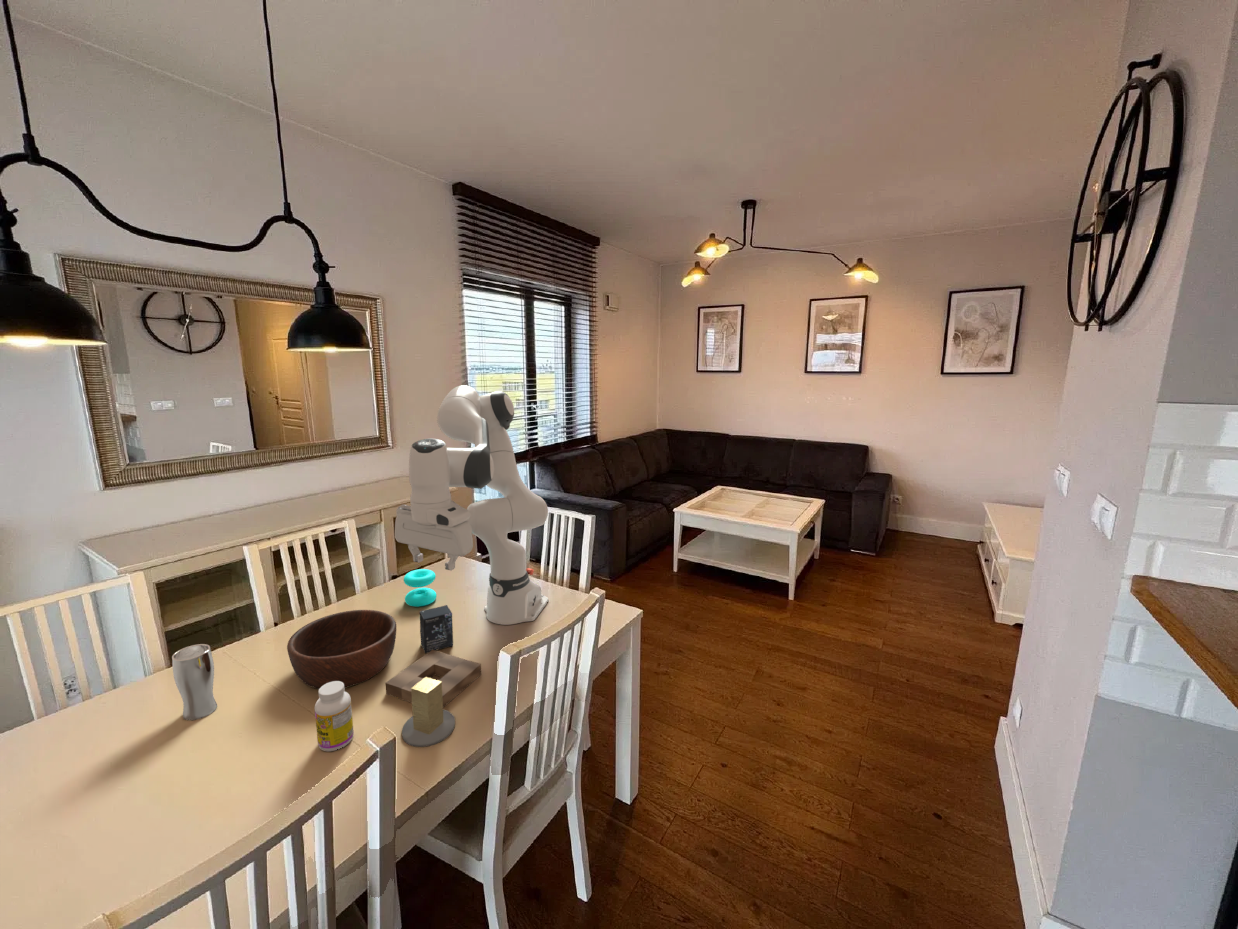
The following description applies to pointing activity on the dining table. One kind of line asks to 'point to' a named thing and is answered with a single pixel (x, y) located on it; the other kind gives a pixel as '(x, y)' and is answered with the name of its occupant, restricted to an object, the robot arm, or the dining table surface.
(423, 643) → the box
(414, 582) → the donuts
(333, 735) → the supplement bottle
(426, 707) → the part
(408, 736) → the coaster
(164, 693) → the dining table surface
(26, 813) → the dining table surface
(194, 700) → the beer glass
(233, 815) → the dining table surface
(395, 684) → the pocket
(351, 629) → the wooden bowl
